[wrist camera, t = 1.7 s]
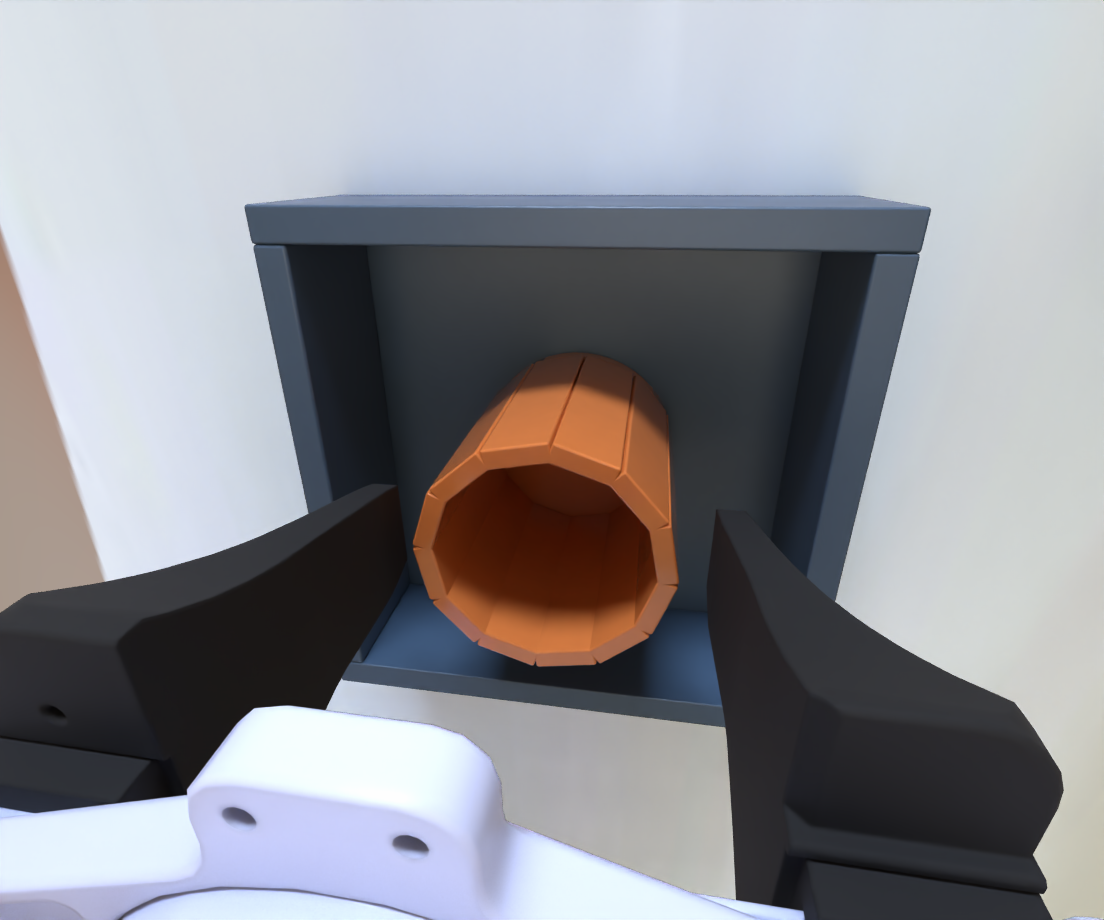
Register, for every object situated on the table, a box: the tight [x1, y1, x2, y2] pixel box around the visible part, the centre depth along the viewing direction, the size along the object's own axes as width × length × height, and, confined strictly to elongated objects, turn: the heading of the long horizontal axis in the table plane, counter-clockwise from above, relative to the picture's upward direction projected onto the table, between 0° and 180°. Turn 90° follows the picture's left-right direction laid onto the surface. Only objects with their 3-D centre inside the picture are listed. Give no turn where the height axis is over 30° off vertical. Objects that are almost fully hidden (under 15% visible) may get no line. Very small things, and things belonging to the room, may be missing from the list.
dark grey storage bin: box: [245, 195, 931, 727], centre depth 17 cm, size 14×14×4 cm
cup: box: [413, 352, 679, 667], centre depth 16 cm, size 6×6×6 cm
